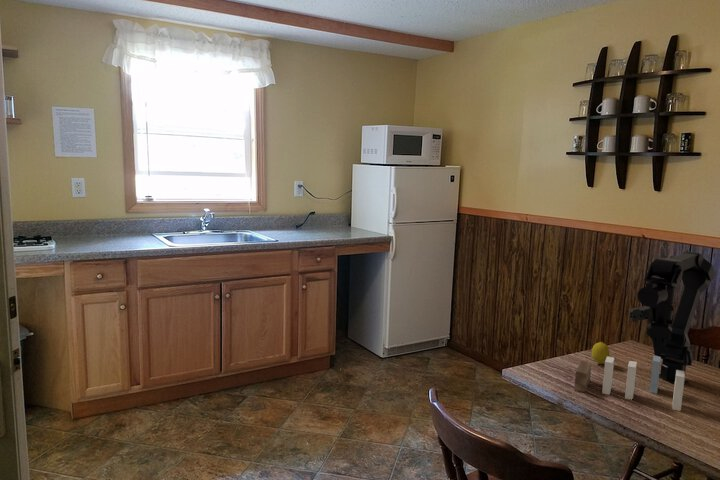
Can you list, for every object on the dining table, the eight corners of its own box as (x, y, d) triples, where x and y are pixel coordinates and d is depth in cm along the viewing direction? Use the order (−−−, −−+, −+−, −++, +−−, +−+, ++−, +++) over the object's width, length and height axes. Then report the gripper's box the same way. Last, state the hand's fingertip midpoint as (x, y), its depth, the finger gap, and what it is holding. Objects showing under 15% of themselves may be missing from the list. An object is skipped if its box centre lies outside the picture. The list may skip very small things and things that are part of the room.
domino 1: (611, 388, 157) (614, 357, 156) (609, 394, 153) (612, 363, 151) (604, 387, 158) (607, 356, 157) (602, 393, 154) (605, 361, 152)
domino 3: (680, 404, 148) (684, 371, 146) (680, 411, 143) (684, 377, 142) (672, 402, 149) (676, 369, 147) (672, 409, 144) (676, 375, 143)
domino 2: (633, 393, 154) (636, 362, 152) (632, 400, 150) (635, 367, 148) (626, 392, 155) (629, 360, 153) (624, 398, 151) (627, 366, 149)
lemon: (611, 367, 174) (613, 344, 172) (594, 367, 174) (596, 344, 173) (603, 361, 179) (605, 339, 178) (588, 361, 179) (589, 339, 178)
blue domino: (657, 387, 158) (661, 356, 157) (656, 393, 154) (660, 362, 153) (650, 386, 159) (653, 355, 158) (649, 392, 155) (652, 360, 154)
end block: (589, 380, 162) (591, 362, 162) (584, 392, 154) (586, 373, 153) (579, 378, 164) (581, 360, 163) (574, 390, 156) (575, 371, 155)
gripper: (634, 290, 165) (630, 337, 167) (629, 303, 149) (624, 354, 152) (675, 295, 159) (670, 343, 161) (674, 310, 143) (668, 363, 146)
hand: (657, 350), depth 155 cm, fingers open, 9 cm apart
